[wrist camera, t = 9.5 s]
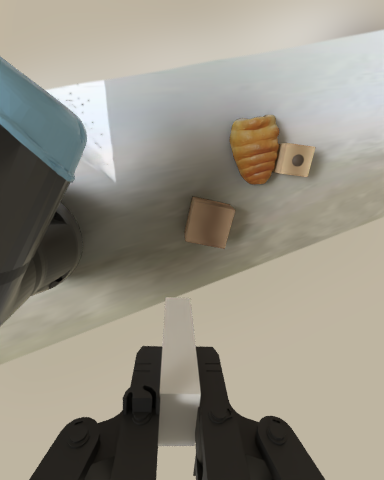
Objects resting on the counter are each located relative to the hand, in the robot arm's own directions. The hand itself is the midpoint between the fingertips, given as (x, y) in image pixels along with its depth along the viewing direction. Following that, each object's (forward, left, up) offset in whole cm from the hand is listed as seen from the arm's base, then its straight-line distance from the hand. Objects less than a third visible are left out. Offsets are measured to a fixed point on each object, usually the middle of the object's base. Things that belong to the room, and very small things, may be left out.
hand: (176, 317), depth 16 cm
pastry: (+9, +9, -27) cm, 30 cm away
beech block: (+16, +10, -27) cm, 33 cm away
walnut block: (+5, 0, -27) cm, 27 cm away
